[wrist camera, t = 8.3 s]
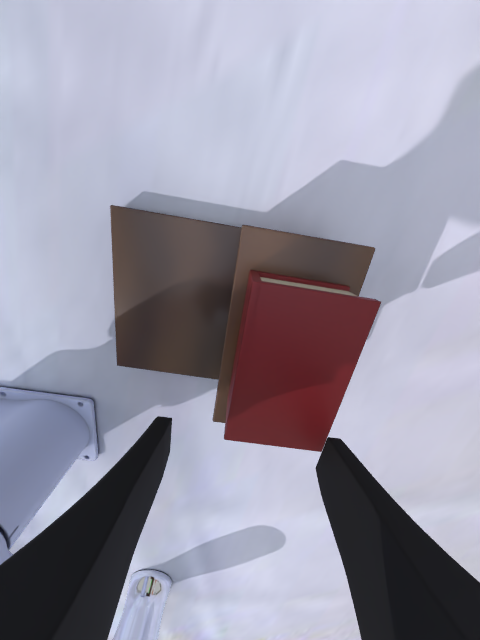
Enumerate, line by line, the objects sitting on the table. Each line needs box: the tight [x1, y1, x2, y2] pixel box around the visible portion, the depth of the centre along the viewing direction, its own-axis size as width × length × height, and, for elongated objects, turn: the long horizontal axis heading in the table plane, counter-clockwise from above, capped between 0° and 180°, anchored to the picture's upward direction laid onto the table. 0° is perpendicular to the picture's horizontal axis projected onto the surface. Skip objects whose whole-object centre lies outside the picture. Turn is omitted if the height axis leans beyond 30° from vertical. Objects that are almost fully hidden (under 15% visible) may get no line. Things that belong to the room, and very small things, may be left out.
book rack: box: [110, 205, 375, 423], centre depth 15 cm, size 15×12×6 cm
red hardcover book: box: [224, 270, 381, 452], centre depth 11 cm, size 5×8×3 cm, turn 171°
